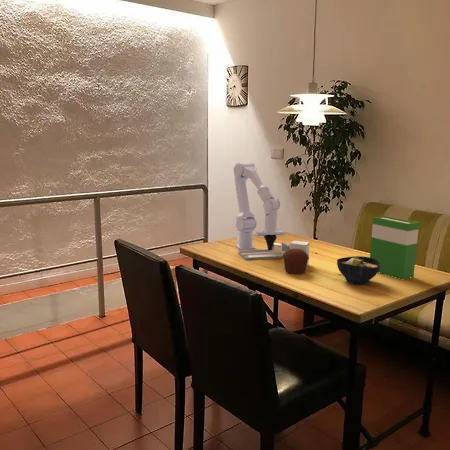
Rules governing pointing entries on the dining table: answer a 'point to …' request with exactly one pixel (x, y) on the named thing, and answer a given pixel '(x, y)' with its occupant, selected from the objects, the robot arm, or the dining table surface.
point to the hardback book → (394, 246)
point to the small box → (300, 247)
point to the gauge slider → (277, 247)
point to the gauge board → (263, 253)
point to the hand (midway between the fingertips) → (269, 249)
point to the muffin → (295, 261)
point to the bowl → (358, 269)
